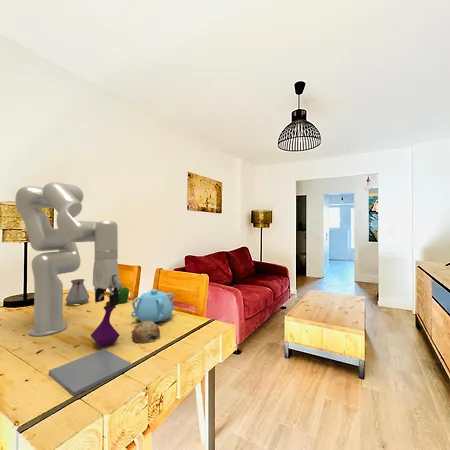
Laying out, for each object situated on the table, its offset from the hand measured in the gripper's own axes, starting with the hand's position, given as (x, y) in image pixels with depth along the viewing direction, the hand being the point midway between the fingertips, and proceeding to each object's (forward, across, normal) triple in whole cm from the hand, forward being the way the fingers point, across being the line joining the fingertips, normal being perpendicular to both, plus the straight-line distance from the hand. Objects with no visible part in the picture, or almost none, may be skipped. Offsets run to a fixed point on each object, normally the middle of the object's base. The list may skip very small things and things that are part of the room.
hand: (106, 303), depth 89 cm
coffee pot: (+14, -57, +15) cm, 60 cm away
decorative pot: (+15, -7, +26) cm, 31 cm away
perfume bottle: (+15, -1, 0) cm, 15 cm away
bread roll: (+15, +6, +12) cm, 20 cm away
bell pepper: (+14, -44, +32) cm, 56 cm away
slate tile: (+15, +12, -11) cm, 22 cm away
